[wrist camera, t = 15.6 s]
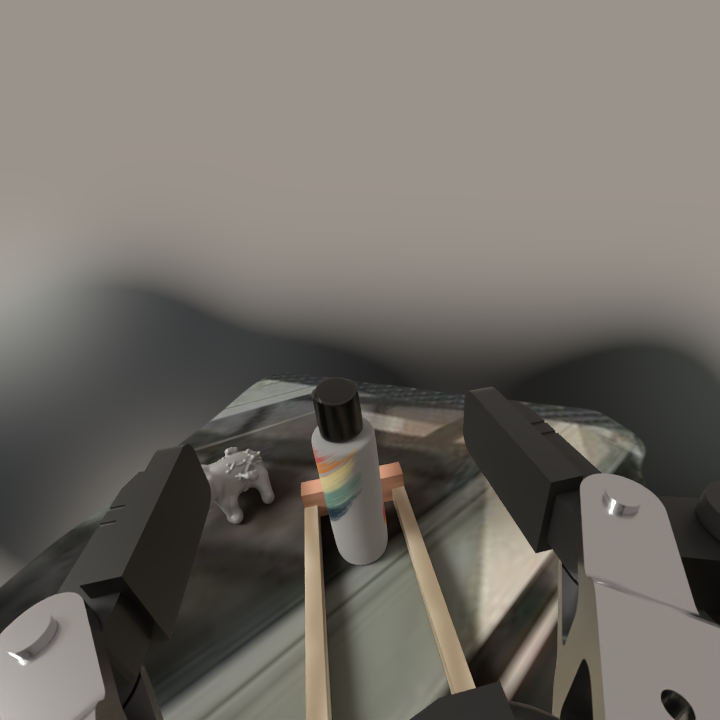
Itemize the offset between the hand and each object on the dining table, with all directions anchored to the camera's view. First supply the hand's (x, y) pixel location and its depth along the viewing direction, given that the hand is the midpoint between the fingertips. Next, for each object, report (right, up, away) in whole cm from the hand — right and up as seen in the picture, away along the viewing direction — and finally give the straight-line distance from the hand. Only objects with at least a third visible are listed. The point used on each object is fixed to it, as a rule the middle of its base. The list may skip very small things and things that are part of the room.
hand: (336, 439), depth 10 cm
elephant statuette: (-16, -17, +32) cm, 40 cm away
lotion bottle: (+1, -18, +26) cm, 32 cm away
